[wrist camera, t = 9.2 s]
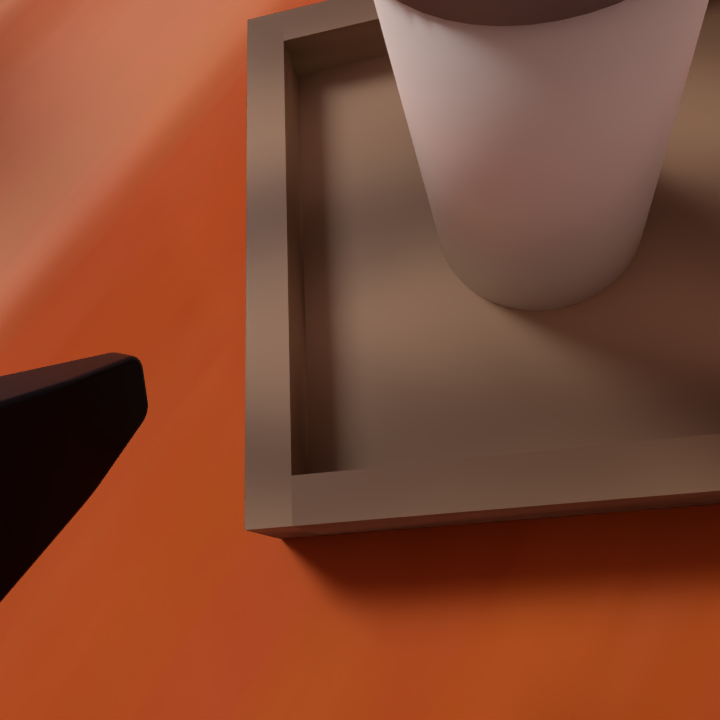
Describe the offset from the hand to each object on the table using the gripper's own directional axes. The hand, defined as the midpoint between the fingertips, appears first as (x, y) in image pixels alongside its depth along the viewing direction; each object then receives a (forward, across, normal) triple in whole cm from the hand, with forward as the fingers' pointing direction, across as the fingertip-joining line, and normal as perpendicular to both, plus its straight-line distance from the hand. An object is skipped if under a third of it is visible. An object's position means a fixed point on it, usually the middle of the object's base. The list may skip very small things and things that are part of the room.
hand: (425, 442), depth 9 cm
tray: (+12, 0, +1) cm, 13 cm away
